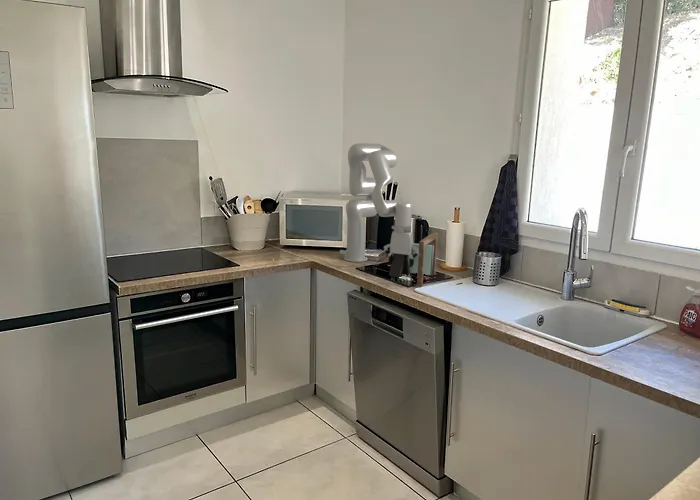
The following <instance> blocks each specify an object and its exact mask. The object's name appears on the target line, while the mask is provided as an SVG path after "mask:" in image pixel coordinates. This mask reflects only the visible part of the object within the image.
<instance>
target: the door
mask: <svg viewBox="0 0 700 500" xmlns="http://www.w3.org/2000/svg"><path fill="white" fill-rule="evenodd" d="M413 246H415V247H417V248H418V249H419V243H414V242H413ZM412 253H413V254H415V253H416V251H415V250H414V249H413V252H412ZM433 255H434V246H433V245H432V244H427V245H425V253H424V269H423V275H424V274H425V276H433V275H432V271H433ZM418 257H419V254H418V255H417V256H416V257H415V258H414V265H413V266H412V267H411V268H410V267H409V269H410V274H416V273H417V274H418ZM407 258H408V263H409V262H410V259H411V258H410V256H409V255H408V256H407Z"/></svg>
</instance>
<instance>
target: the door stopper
mask: <svg viewBox="0 0 700 500" xmlns="http://www.w3.org/2000/svg"><path fill="white" fill-rule="evenodd" d="M407 256H408V255H402V254H394V253H393V260H392V264H391V265H390V268H389V272H388V276H389V275H390V276H389V277H391V276H395V277H398V278H397V279H400V278H399V277H401V275H402V274H406V275H409V274H410V275H411V273H410V269H409V263H408V258H407ZM395 277H394V278H395Z"/></svg>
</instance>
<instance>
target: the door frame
mask: <svg viewBox="0 0 700 500" xmlns="http://www.w3.org/2000/svg"><path fill="white" fill-rule="evenodd" d="M438 241H439V232H435V231H434V232H431V234H429V235H427V236H425V237H424V238H423V239H421V240H420V241H419V242H418V244H419V257H418V274H417V275H416V276H417V277H416V279H417V280H416V287H418V288H422V287H423V286H424V285H423V282H424V274H423V269H424V253H425V245H429V244H430V243H431V245H433V246H434V255H433V271H432V274H435V273H436V274H437V272H436V271H437V256H438ZM436 274H435V275H436Z"/></svg>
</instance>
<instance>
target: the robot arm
mask: <svg viewBox="0 0 700 500" xmlns="http://www.w3.org/2000/svg"><path fill="white" fill-rule="evenodd" d="M347 152H348V153H347V162H348V166H349V175H348V176H349V180H348V181H349V183H348V186H349V187H348V189H349V193H350V195H351V196H353V197H366V198H355V199H354V198H353V199H350V200H349V201H347V203H346V205H345V212H346V218H347V219H346V221H347V223H346V225H347V226H346V228H347V229H346V230H347V232H346V249H345V250H344V249H340V250H339V254H340V255H344V256H343V260H344V261H347V262H350V263H351V262H352V263H360V262H361V263H362V262H367V261H369V260H368V258H367V257H368V256H366V234H367V233H366V232H367V230H366V222H365V221H364V220H363V218H372V217H375V216H376V215H378V216H379V217H383V218H388V217H394V224H393V225H391V229H392V230H393V231H392V233H391V238H390V243H388V244H386V245H384V246H383V249H384V251H385V254H387V256H388V263H389V265H390V266H391V264H392V260H393V256H394V254H402V255H409V256H410V258H411V259H410V262H409V267H410V268H411V267H412V266H413V265H414V258H415V257H416V256H417V255H418V254H419V249H418V248H417V247H415V246H413V243H414V237H413V232H412V219H413V218H412V216H413V214H412V213H413V205H412V203H411V202H407V201H406V202H405V201H403V200H400V199H388V200H385V199H384V196H383V188H384V187H386V186H388V185H389V184H391V183H392V182H393V180H394V177H393V174H392V171H391V169H392V168H394V167H396V166H397V164H398V157H397V155H396V153H395V151H393V150H392V149H390V148H388V147H387V146H385V145H383V144H380V143H366V142H365V143H355V144H352V145H351V146H350V147H349V149H348V151H347ZM364 161H366V162H367V161H368V163H369V167H370V169H371V173H372V175H373V176H372V177H371V176H369V177H367V166H366V165H365V163H364ZM413 249H414V250H415V251H416V253H415V254H413V253H412V252H413ZM365 256H366V257H365Z"/></svg>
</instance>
